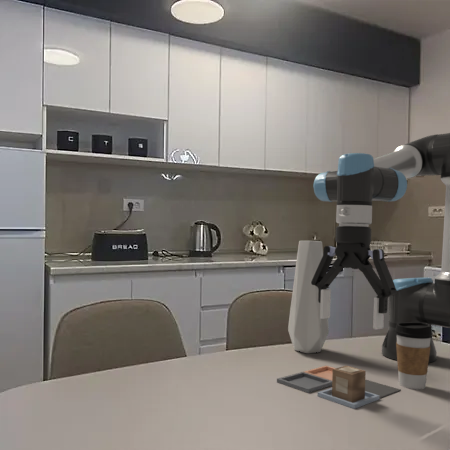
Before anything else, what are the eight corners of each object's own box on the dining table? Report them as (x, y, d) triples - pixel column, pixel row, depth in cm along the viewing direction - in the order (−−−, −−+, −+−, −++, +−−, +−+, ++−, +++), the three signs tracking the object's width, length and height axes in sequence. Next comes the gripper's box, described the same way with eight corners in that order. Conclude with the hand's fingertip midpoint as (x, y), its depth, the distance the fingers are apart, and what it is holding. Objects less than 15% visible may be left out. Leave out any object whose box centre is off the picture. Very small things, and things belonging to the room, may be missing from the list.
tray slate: (342, 389, 117) (343, 384, 117) (379, 400, 110) (379, 395, 110) (317, 397, 111) (317, 392, 111) (354, 410, 104) (354, 404, 104)
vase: (278, 349, 153) (281, 240, 153) (302, 343, 161) (305, 240, 160) (310, 358, 144) (313, 241, 144) (334, 351, 152) (337, 241, 151)
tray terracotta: (326, 370, 132) (326, 365, 132) (356, 379, 125) (357, 374, 125) (302, 376, 126) (302, 371, 126) (333, 386, 119) (334, 381, 119)
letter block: (345, 392, 114) (346, 365, 114) (364, 398, 110) (365, 370, 110) (331, 396, 110) (332, 368, 110) (351, 403, 107) (351, 374, 107)
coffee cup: (434, 394, 116) (436, 328, 116) (395, 390, 117) (397, 325, 117) (427, 382, 124) (429, 321, 124) (391, 379, 125) (392, 319, 125)
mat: (366, 382, 123) (366, 379, 123) (400, 392, 116) (400, 389, 116) (344, 389, 117) (344, 386, 117) (379, 400, 110) (379, 397, 110)
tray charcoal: (302, 376, 126) (302, 371, 126) (333, 386, 119) (333, 381, 119) (276, 383, 120) (276, 378, 120) (308, 394, 113) (308, 389, 113)
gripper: (298, 223, 117) (295, 315, 117) (397, 226, 98) (393, 335, 98) (318, 224, 122) (315, 312, 122) (416, 227, 103) (413, 331, 103)
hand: (350, 323), depth 110 cm, fingers open, 13 cm apart
